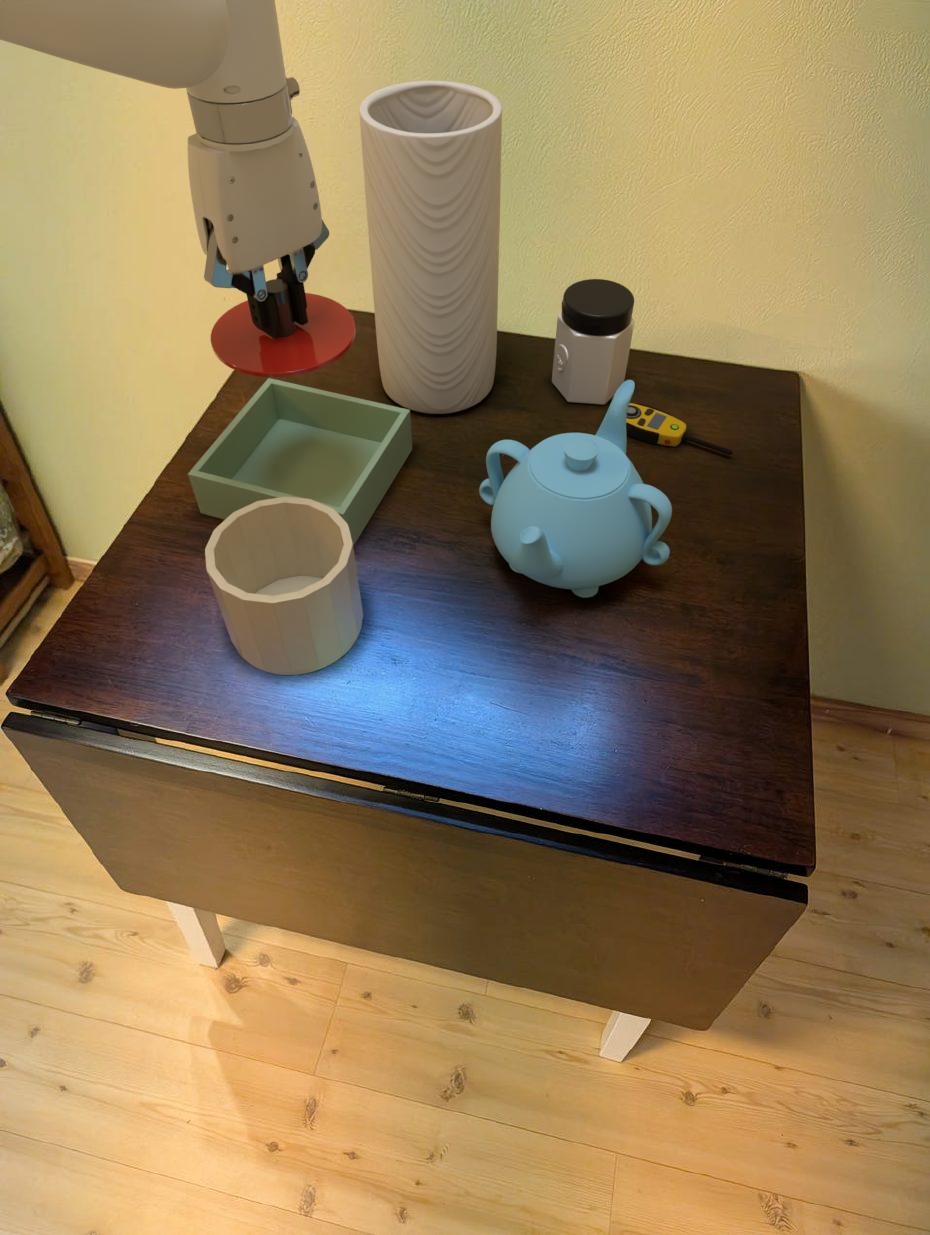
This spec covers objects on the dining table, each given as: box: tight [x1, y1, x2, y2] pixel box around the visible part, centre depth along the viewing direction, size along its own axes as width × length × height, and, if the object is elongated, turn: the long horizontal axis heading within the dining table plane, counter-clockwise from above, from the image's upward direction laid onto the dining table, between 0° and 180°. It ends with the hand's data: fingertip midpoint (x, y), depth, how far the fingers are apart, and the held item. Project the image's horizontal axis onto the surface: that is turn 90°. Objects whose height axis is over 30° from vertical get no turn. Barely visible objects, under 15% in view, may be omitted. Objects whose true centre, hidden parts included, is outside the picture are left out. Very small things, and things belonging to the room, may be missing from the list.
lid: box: [210, 278, 357, 378], centre depth 78 cm, size 14×14×6 cm
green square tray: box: [187, 377, 413, 547], centre depth 92 cm, size 18×18×6 cm
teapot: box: [478, 379, 673, 599], centre depth 82 cm, size 16×20×14 cm
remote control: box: [626, 402, 734, 456], centre depth 98 cm, size 5×2×15 cm
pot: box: [204, 496, 364, 676], centre depth 77 cm, size 13×13×10 cm
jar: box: [551, 278, 635, 406], centre depth 101 cm, size 9×8×12 cm
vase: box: [358, 80, 503, 415], centre depth 93 cm, size 14×14×32 cm
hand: (281, 323), depth 79 cm, fingers closed on lid, 2 cm apart
